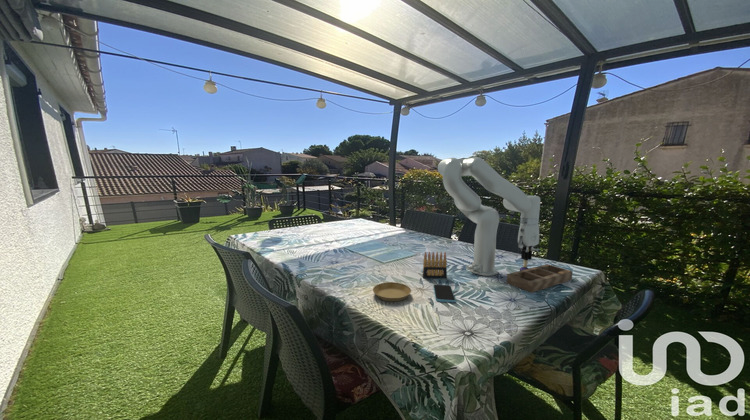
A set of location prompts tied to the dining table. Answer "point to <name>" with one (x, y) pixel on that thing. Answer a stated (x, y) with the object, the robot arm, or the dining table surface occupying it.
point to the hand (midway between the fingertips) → (526, 258)
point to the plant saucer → (392, 291)
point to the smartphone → (444, 293)
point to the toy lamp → (525, 262)
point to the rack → (539, 277)
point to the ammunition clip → (434, 266)
